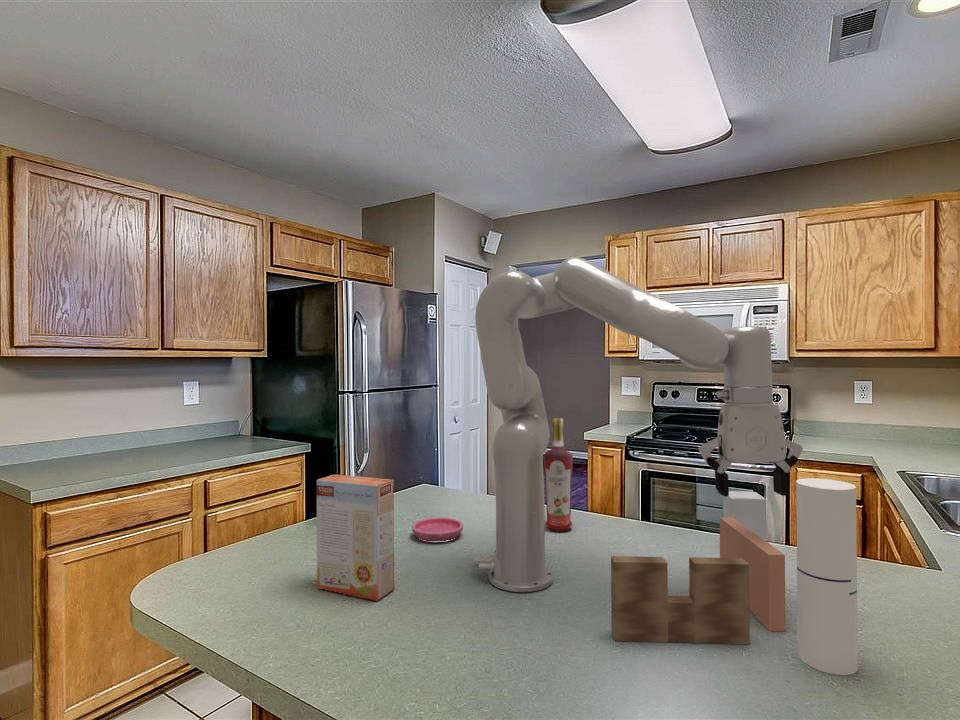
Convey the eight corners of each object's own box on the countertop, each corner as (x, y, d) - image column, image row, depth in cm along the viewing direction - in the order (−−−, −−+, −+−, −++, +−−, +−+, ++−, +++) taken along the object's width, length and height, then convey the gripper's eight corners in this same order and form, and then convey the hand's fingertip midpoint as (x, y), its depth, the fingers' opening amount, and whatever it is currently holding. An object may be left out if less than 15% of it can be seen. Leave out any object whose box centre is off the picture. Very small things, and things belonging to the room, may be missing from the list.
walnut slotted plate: (614, 640, 81) (613, 562, 81) (611, 632, 84) (610, 556, 84) (749, 644, 80) (749, 564, 80) (742, 635, 82) (742, 558, 82)
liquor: (574, 525, 138) (573, 417, 138) (572, 534, 131) (571, 420, 131) (545, 523, 140) (545, 417, 140) (542, 532, 133) (541, 420, 133)
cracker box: (396, 589, 100) (395, 478, 100) (377, 603, 95) (376, 485, 95) (337, 577, 106) (336, 472, 106) (315, 589, 100) (315, 478, 101)
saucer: (468, 542, 126) (468, 529, 126) (416, 548, 123) (416, 534, 123) (456, 527, 138) (456, 515, 138) (408, 532, 135) (408, 519, 135)
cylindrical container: (786, 648, 79) (784, 478, 79) (832, 645, 79) (830, 477, 79) (821, 676, 72) (819, 490, 72) (871, 673, 72) (869, 489, 72)
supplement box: (767, 558, 115) (767, 499, 115) (730, 555, 116) (730, 497, 116) (757, 546, 122) (756, 491, 122) (722, 544, 123) (722, 489, 123)
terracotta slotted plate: (785, 631, 84) (784, 554, 84) (769, 631, 84) (768, 554, 84) (733, 579, 104) (732, 517, 104) (720, 579, 104) (719, 517, 104)
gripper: (705, 399, 91) (708, 500, 90) (811, 397, 89) (814, 499, 89) (691, 396, 98) (693, 489, 98) (788, 394, 97) (791, 488, 97)
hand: (751, 494), depth 94 cm, fingers open, 9 cm apart
